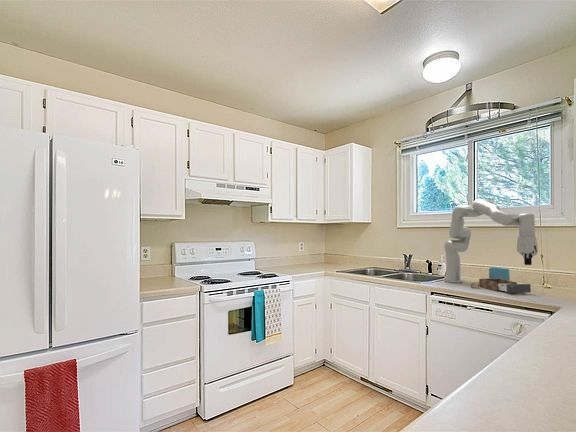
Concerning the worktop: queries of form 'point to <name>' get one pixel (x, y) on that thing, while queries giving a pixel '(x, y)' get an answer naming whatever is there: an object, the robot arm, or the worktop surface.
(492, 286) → the dock
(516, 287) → the tray
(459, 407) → the worktop surface
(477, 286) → the stand
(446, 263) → the robot arm
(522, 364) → the worktop surface
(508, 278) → the data package
